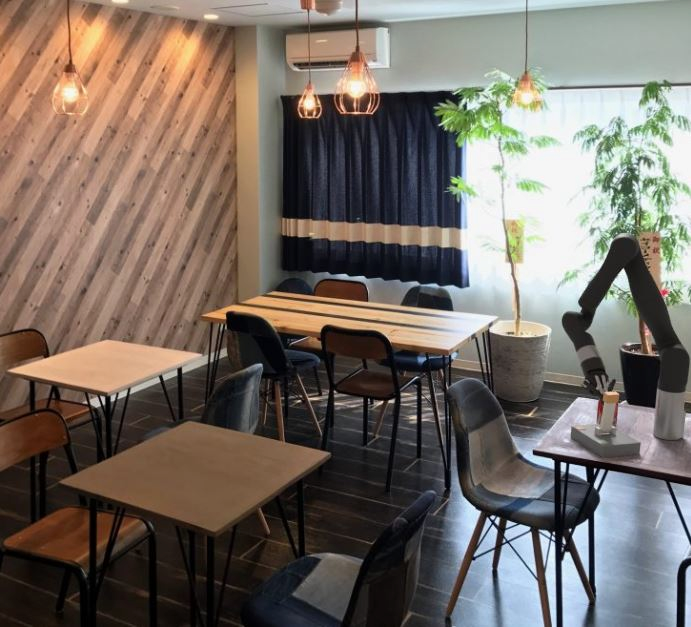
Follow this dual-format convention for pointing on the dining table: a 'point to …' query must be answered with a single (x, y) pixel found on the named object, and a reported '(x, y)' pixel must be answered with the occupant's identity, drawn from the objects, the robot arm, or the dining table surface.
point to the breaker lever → (608, 411)
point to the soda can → (600, 411)
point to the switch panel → (605, 441)
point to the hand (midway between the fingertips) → (607, 405)
